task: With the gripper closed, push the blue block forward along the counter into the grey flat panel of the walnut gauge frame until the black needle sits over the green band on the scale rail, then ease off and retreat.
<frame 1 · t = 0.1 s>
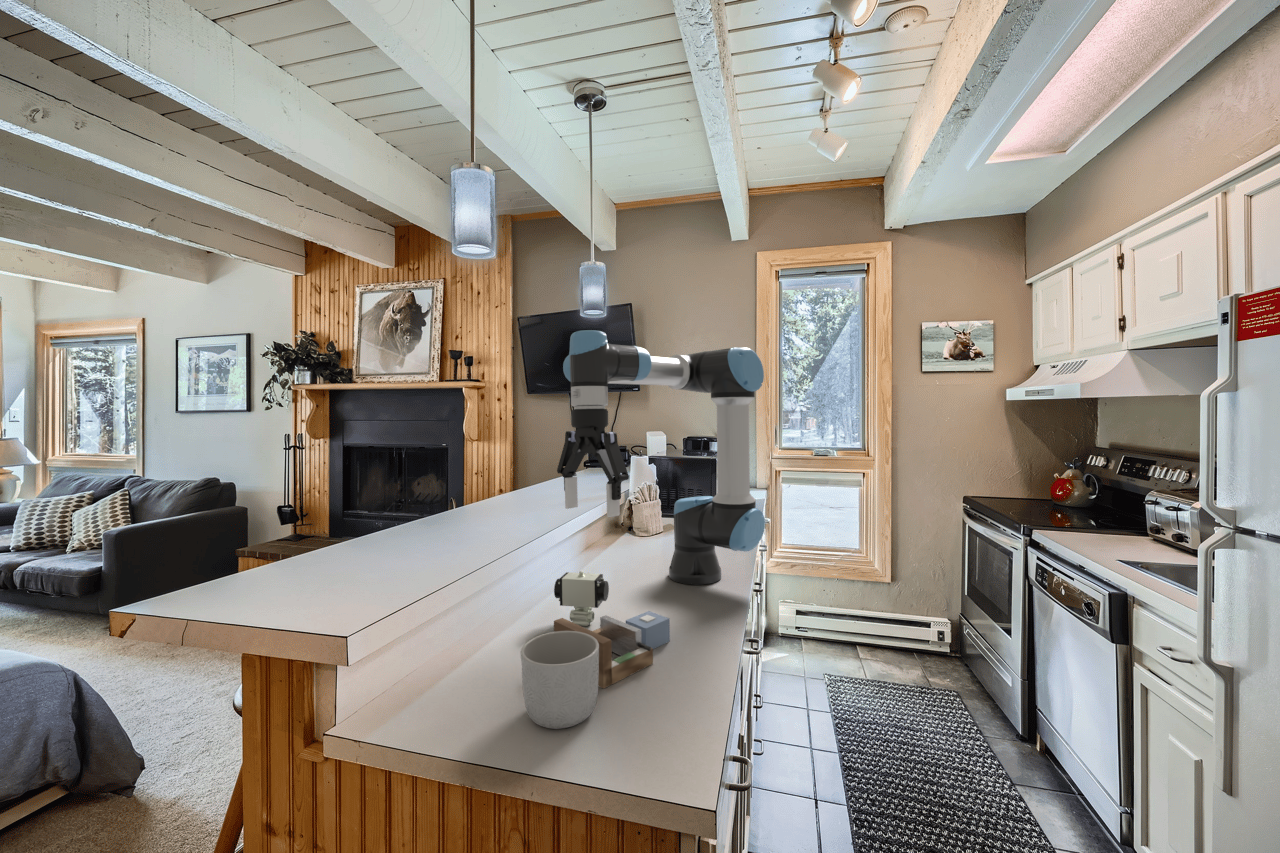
hand: (591, 511, 107), 28 cm above the counter, fingers open, 13 cm apart
planter: (561, 714, 84), on the counter
gauge frame: (604, 662, 101), on the counter
grey flat panel: (625, 640, 103), point 3 cm above the counter, slide at 0.0 cm
pneumatic valve: (582, 623, 120), on the counter
blue block: (647, 642, 109), on the counter
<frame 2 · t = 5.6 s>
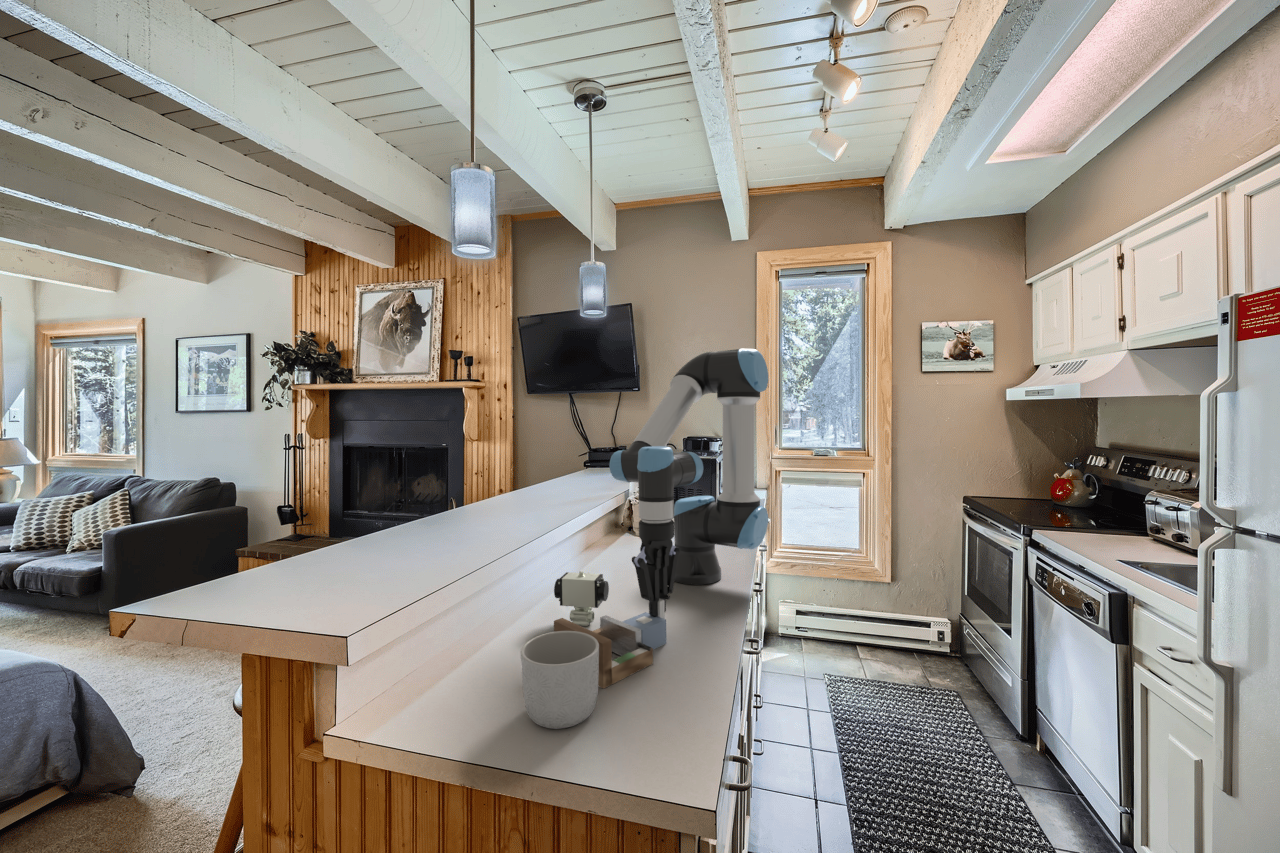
hand: (657, 629, 111), 2 cm above the counter, fingers closed
blue block: (644, 644, 108), on the counter
everything else where it was.
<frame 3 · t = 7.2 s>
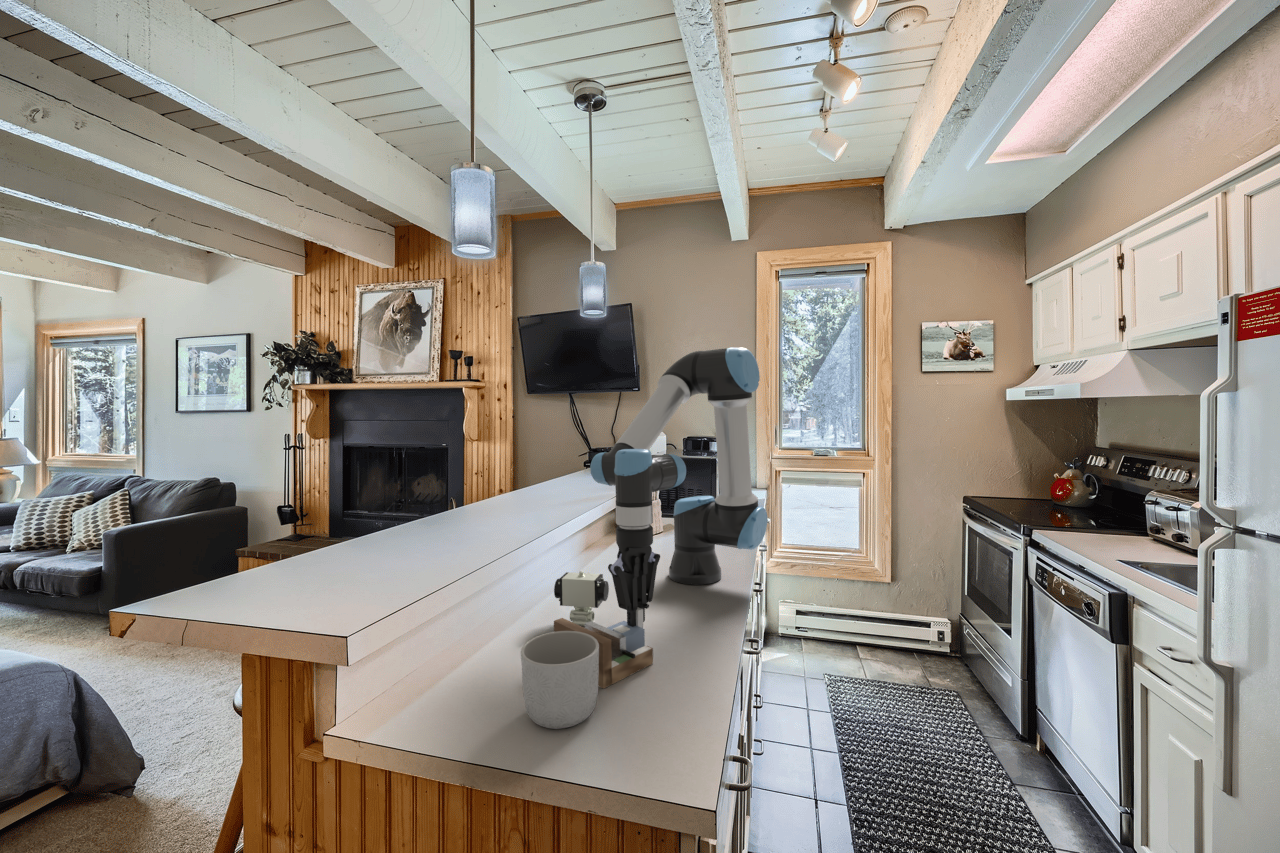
hand: (636, 639, 107), 2 cm above the counter, fingers closed
grey flat panel: (609, 647, 100), point 3 cm above the counter, slide at 4.1 cm
blue block: (621, 654, 104), on the counter, touching gripper
everything else where it was.
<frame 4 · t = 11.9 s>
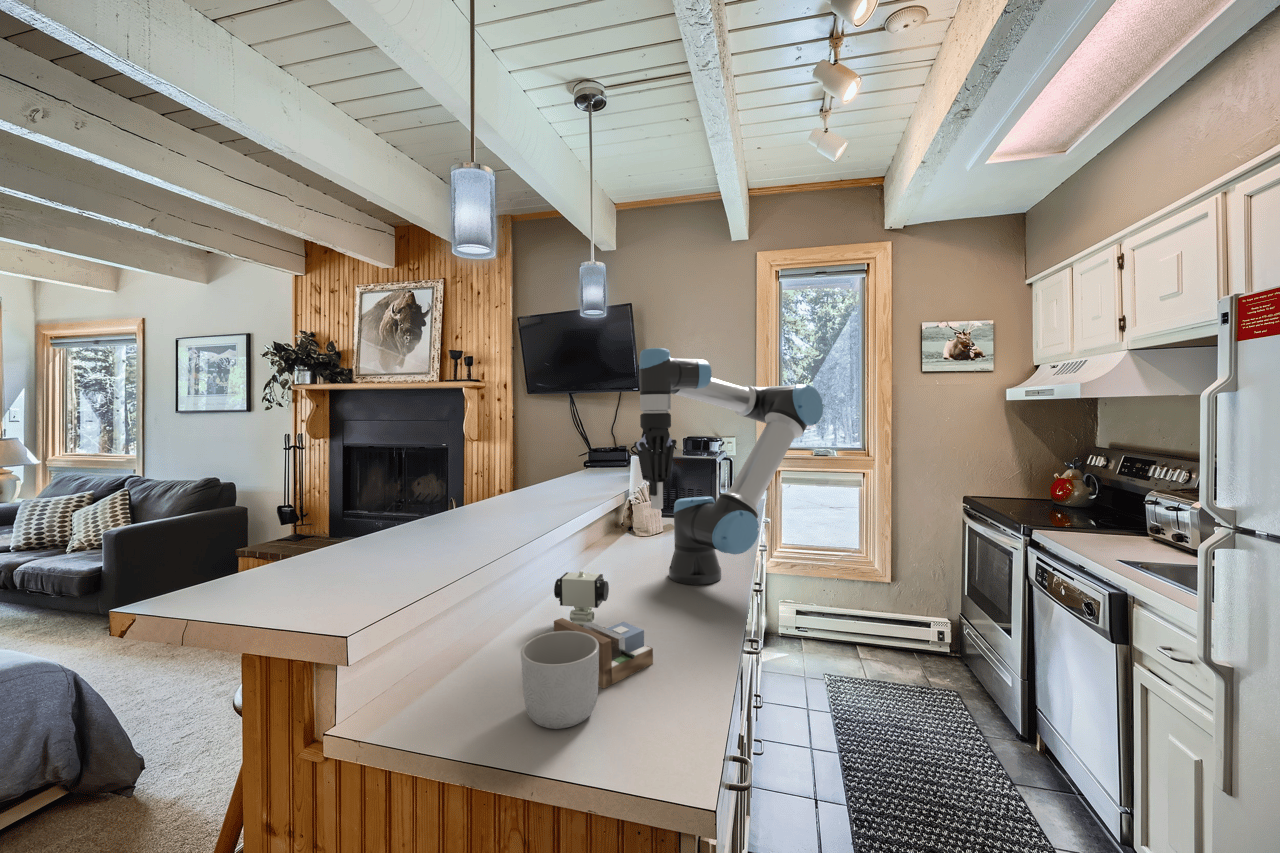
hand: (657, 508, 128), 24 cm above the counter, fingers closed
blue block: (621, 655, 104), on the counter
everything else where it was.
at the end: grey flat panel slide at 4.3 cm; blue block tilted 0° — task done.
